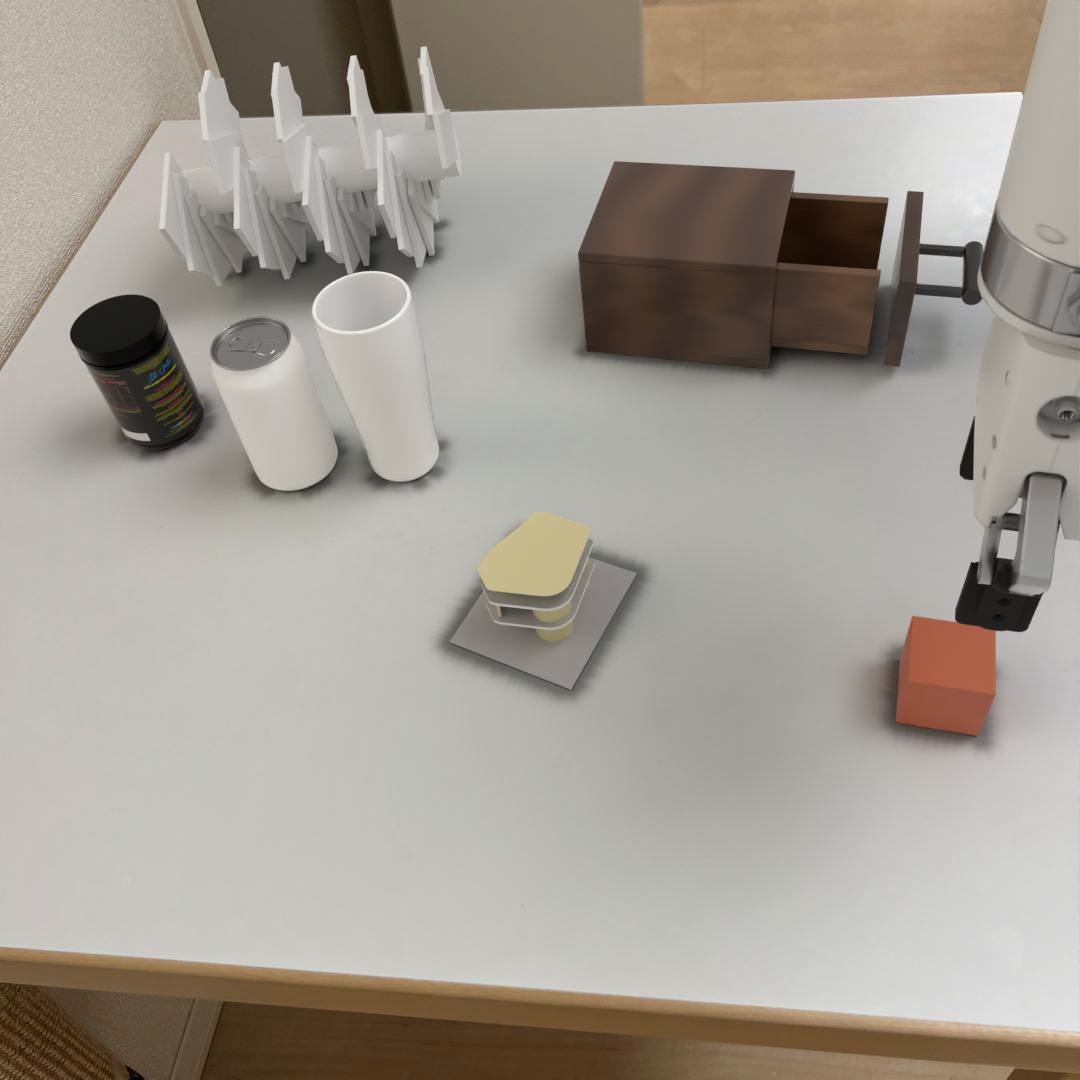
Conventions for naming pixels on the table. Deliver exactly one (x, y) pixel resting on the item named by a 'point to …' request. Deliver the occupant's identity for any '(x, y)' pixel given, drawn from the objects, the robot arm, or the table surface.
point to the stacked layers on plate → (543, 600)
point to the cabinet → (684, 262)
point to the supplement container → (139, 370)
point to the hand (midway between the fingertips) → (990, 546)
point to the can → (273, 403)
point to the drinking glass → (380, 369)
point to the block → (946, 676)
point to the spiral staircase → (306, 183)
